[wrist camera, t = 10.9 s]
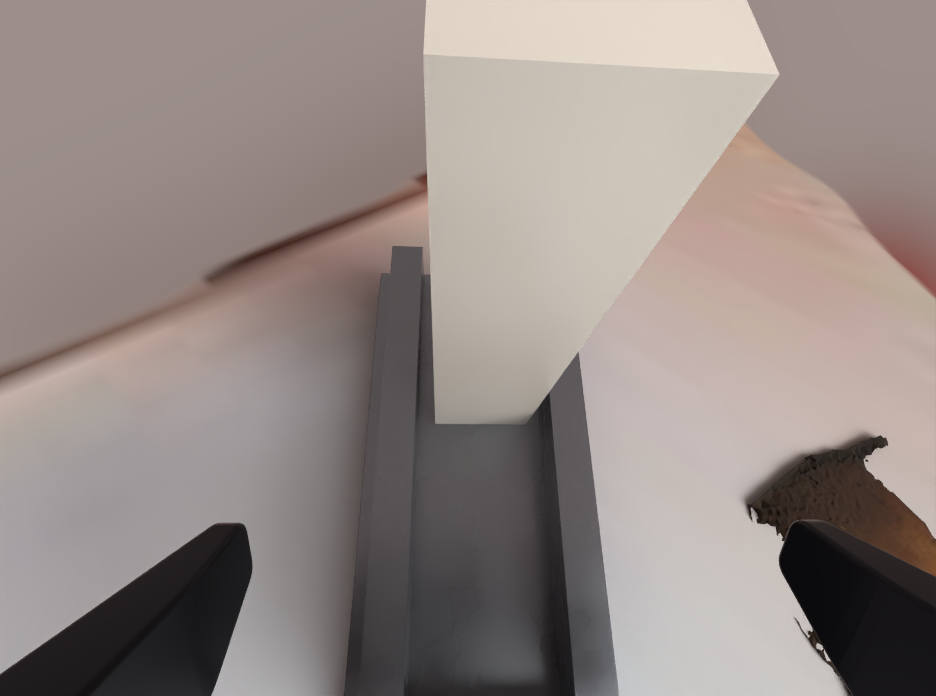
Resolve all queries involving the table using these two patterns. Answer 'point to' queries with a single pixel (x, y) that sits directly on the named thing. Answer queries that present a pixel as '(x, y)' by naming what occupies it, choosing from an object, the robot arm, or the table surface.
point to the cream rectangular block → (563, 171)
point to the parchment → (848, 507)
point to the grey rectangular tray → (472, 533)
